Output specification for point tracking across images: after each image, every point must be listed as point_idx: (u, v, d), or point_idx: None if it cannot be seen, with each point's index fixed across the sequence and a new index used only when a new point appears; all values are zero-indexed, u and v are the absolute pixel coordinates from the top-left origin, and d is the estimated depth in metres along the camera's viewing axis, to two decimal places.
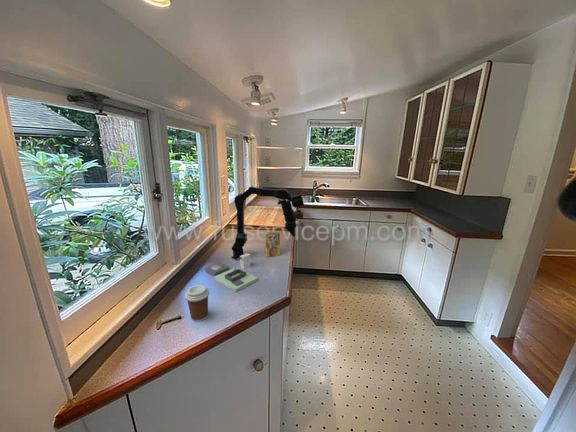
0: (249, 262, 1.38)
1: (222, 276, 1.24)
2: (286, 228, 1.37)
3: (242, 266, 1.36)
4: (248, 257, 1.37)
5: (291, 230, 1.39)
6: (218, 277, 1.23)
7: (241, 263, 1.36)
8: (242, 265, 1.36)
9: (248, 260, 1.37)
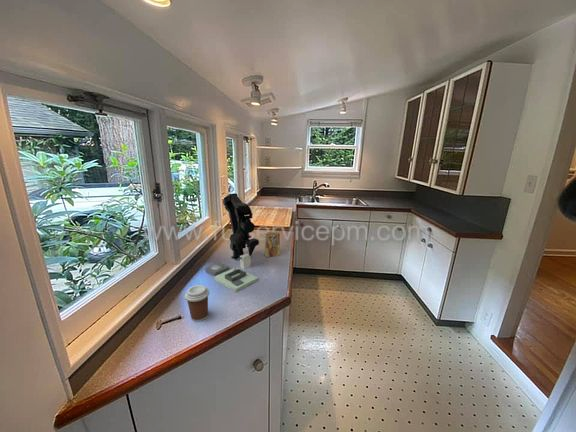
0: (249, 262, 1.38)
1: (222, 276, 1.24)
2: None
3: (242, 266, 1.36)
4: (248, 257, 1.37)
5: None
6: (218, 277, 1.23)
7: (241, 263, 1.36)
8: (242, 265, 1.36)
9: (248, 260, 1.37)
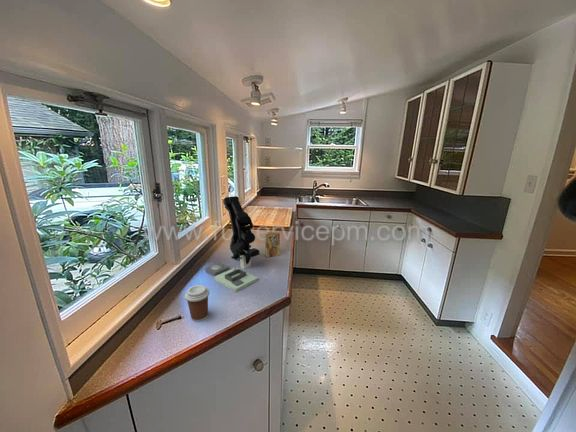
0: (249, 262, 1.38)
1: (222, 276, 1.24)
2: None
3: (242, 266, 1.36)
4: None
5: None
6: (218, 277, 1.23)
7: (241, 263, 1.36)
8: (242, 265, 1.36)
9: None
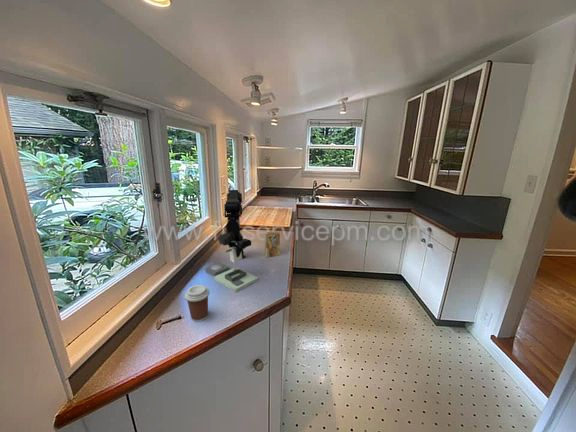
0: (240, 255, 1.22)
1: (222, 276, 1.24)
2: None
3: (232, 259, 1.20)
4: None
5: None
6: (218, 277, 1.23)
7: (231, 256, 1.20)
8: (232, 258, 1.20)
9: None
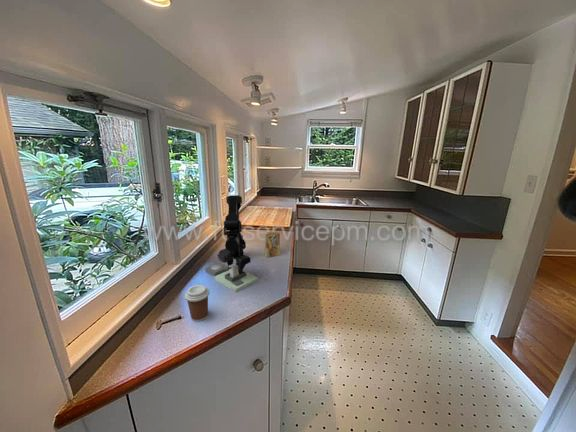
0: None
1: (222, 276, 1.24)
2: None
3: (232, 277, 1.21)
4: None
5: None
6: (218, 277, 1.23)
7: (230, 273, 1.21)
8: (232, 276, 1.21)
9: None
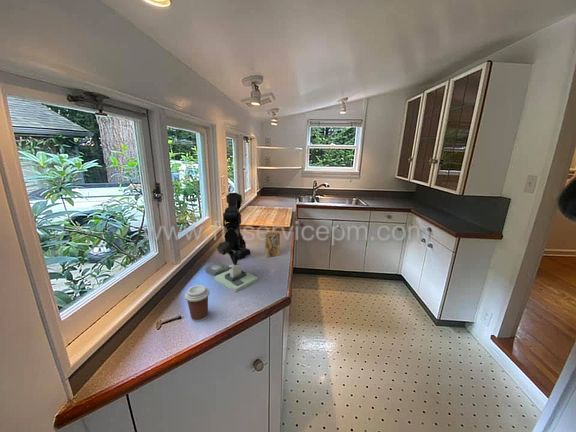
0: (240, 272, 1.23)
1: (222, 276, 1.24)
2: None
3: (232, 277, 1.21)
4: (238, 267, 1.22)
5: None
6: (218, 277, 1.23)
7: (230, 273, 1.21)
8: (232, 276, 1.21)
9: (238, 270, 1.22)
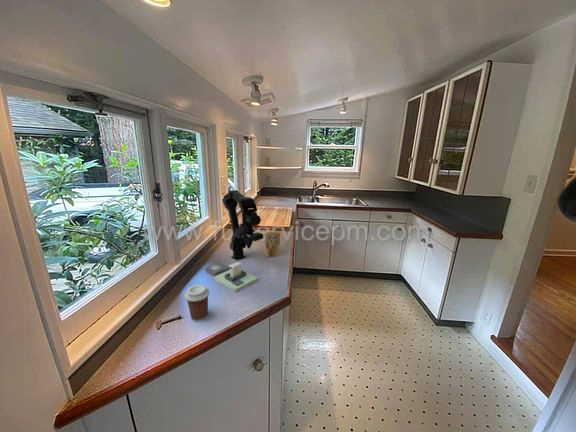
0: (240, 272, 1.23)
1: (222, 276, 1.24)
2: None
3: (232, 277, 1.21)
4: (238, 267, 1.22)
5: None
6: (218, 277, 1.23)
7: (230, 273, 1.21)
8: (232, 276, 1.21)
9: (238, 270, 1.22)
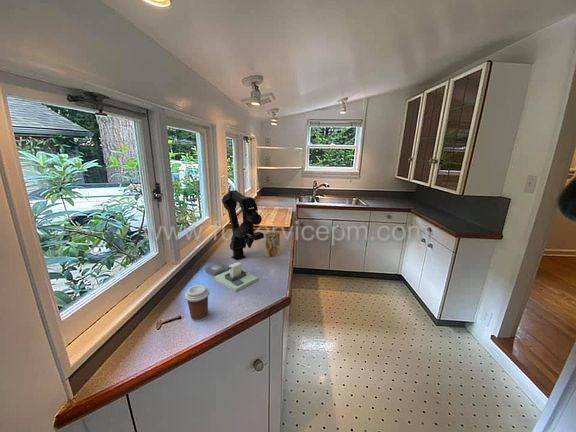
0: (240, 272, 1.23)
1: (222, 276, 1.24)
2: None
3: (232, 277, 1.21)
4: (238, 267, 1.22)
5: None
6: (218, 277, 1.23)
7: (230, 273, 1.21)
8: (232, 276, 1.21)
9: (238, 270, 1.22)
